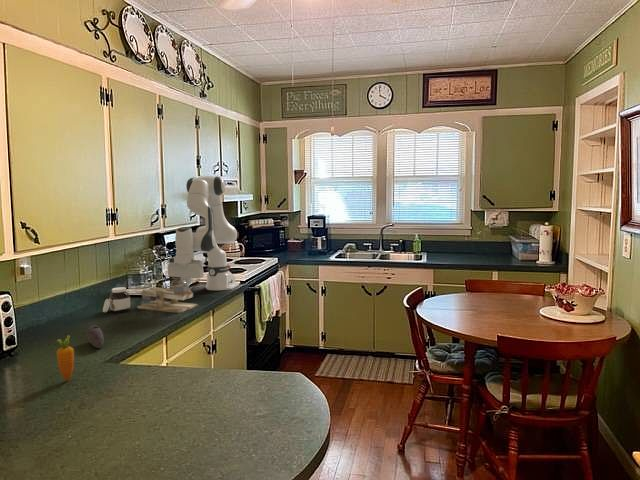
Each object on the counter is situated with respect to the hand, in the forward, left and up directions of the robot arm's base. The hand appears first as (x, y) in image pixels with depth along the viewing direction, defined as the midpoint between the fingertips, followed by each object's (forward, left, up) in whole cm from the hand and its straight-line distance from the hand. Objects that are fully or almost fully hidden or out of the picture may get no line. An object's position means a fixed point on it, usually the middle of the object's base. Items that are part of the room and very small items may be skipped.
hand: (186, 285), depth 245 cm
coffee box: (-19, -20, -13) cm, 31 cm away
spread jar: (+16, -32, -13) cm, 38 cm away
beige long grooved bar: (0, -13, -9) cm, 16 cm away
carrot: (+89, +22, -13) cm, 92 cm away
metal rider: (0, -3, -5) cm, 6 cm away
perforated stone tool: (+59, +2, -13) cm, 60 cm away
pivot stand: (0, -13, -12) cm, 18 cm away
